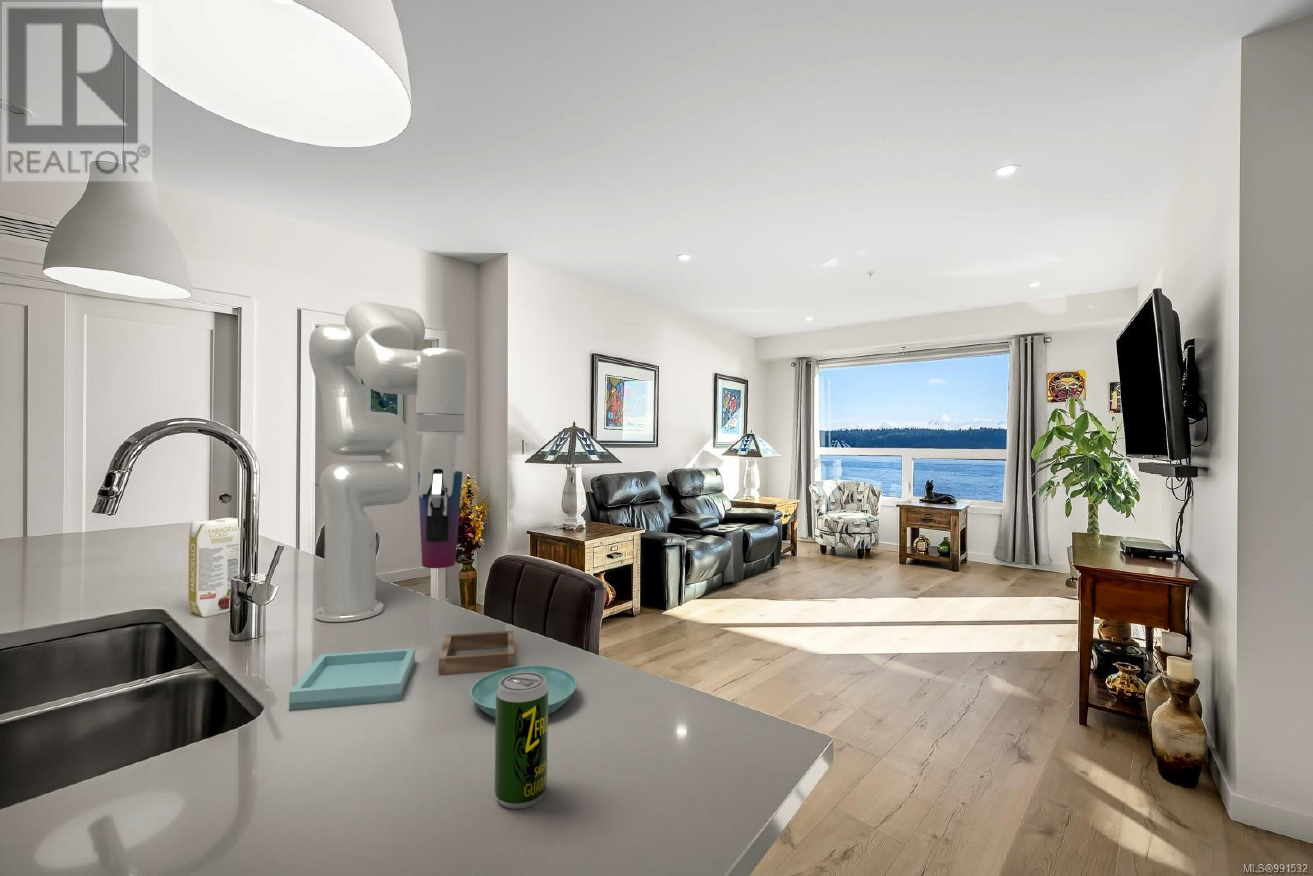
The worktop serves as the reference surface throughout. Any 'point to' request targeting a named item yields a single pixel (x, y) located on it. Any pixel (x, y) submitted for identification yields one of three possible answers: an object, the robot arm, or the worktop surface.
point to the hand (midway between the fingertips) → (438, 536)
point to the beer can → (521, 739)
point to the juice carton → (212, 565)
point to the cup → (446, 551)
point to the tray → (353, 679)
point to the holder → (476, 660)
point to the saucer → (556, 679)
